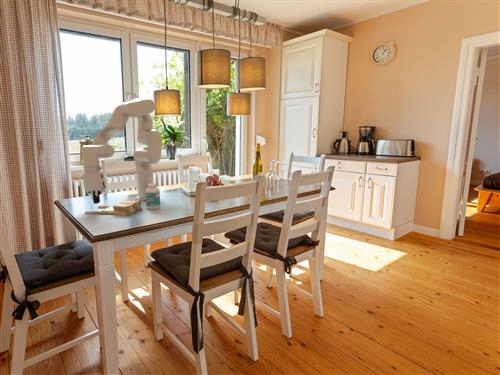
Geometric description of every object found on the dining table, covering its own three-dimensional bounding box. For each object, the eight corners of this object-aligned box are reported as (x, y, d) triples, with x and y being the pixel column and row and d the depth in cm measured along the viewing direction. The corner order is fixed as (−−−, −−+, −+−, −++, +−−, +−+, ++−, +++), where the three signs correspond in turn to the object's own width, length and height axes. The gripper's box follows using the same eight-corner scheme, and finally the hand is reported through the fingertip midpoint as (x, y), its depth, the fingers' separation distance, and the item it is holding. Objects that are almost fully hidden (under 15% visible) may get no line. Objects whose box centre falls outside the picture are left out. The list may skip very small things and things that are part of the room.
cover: (110, 209, 168) (110, 206, 168) (136, 210, 167) (136, 206, 166) (101, 214, 160) (100, 210, 159) (128, 215, 158) (128, 211, 158)
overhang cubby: (100, 207, 172) (99, 199, 171) (141, 208, 170) (140, 200, 169) (84, 214, 158) (83, 205, 157) (128, 215, 156) (128, 206, 155)
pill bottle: (143, 209, 167) (141, 184, 165) (152, 206, 174) (150, 182, 171) (154, 210, 165) (153, 185, 162) (163, 207, 171) (162, 183, 169)
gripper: (109, 168, 164) (113, 201, 168) (83, 168, 165) (88, 201, 169) (101, 170, 156) (106, 205, 161) (74, 170, 158) (79, 204, 162)
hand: (97, 202), depth 165 cm, fingers closed
